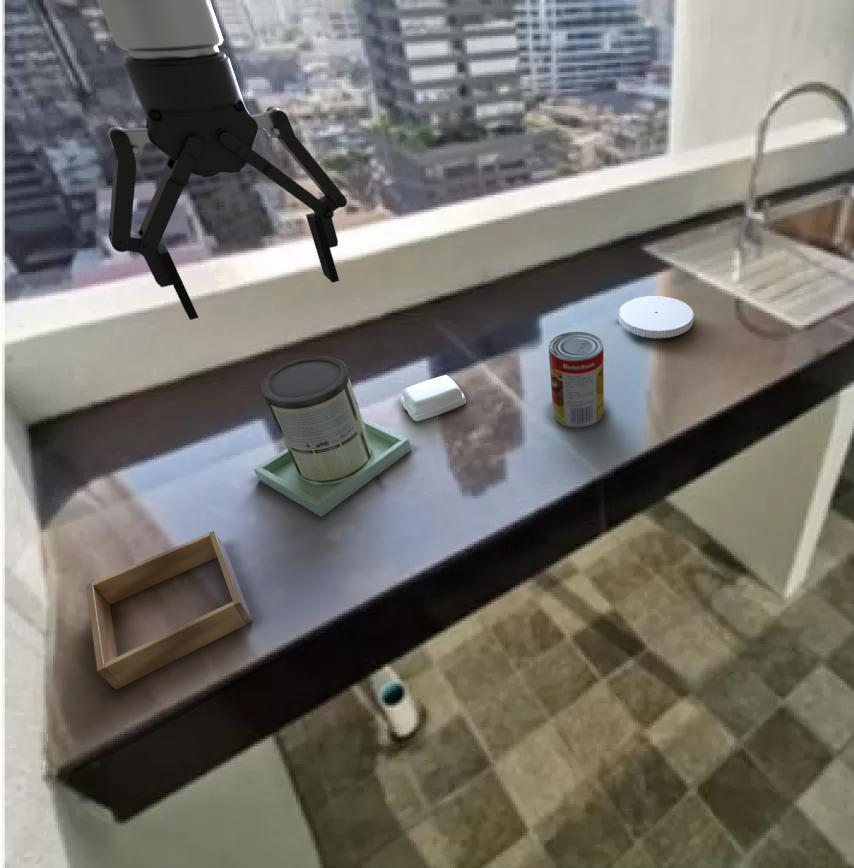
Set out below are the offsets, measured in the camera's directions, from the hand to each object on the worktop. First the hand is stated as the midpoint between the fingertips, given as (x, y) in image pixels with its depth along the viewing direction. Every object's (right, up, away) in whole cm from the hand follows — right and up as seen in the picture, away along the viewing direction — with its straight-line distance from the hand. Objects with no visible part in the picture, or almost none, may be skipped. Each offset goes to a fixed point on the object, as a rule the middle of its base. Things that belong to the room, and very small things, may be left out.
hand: (265, 295), depth 62 cm
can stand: (-12, -34, +4) cm, 36 cm away
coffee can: (-3, -18, +23) cm, 29 cm away
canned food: (+31, -11, +32) cm, 46 cm away
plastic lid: (+45, +6, +53) cm, 70 cm away
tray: (-3, -19, +23) cm, 29 cm away
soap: (+8, -9, +34) cm, 36 cm away
